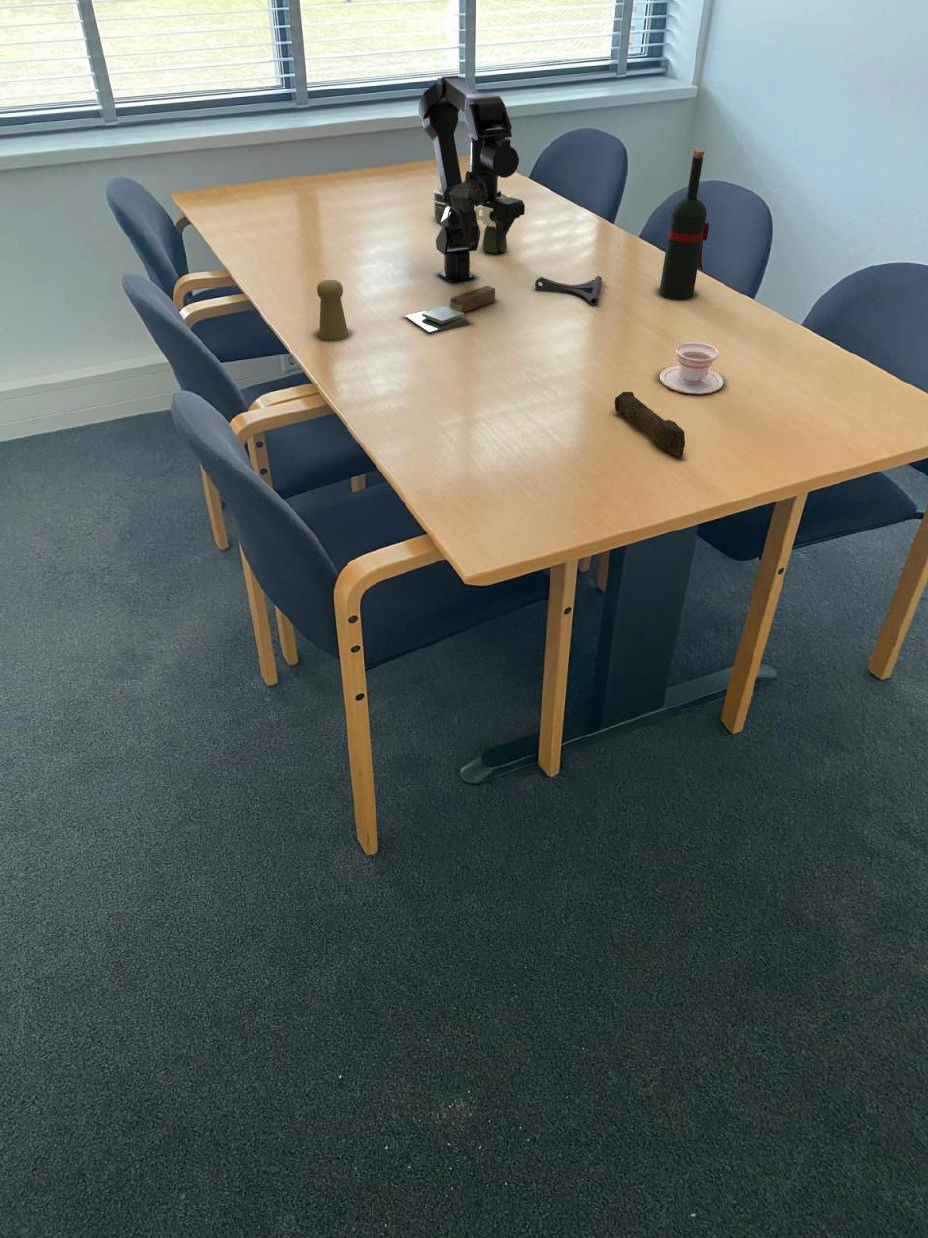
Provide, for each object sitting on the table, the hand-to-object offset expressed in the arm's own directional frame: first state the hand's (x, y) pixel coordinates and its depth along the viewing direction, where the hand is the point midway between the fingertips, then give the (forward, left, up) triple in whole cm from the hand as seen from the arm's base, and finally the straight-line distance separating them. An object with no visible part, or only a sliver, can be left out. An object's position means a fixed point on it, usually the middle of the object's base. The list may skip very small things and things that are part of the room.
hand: (482, 242), depth 200 cm
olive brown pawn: (+2, -38, -12) cm, 40 cm away
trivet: (+7, -16, -12) cm, 21 cm away
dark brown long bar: (+69, -9, -12) cm, 71 cm away
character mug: (-25, +20, -12) cm, 34 cm away
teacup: (+57, +11, -12) cm, 59 cm away
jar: (-52, +24, -12) cm, 59 cm away
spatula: (+5, -8, -12) cm, 15 cm away
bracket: (+7, +19, -12) cm, 24 cm away
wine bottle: (+21, +41, -12) cm, 48 cm away
